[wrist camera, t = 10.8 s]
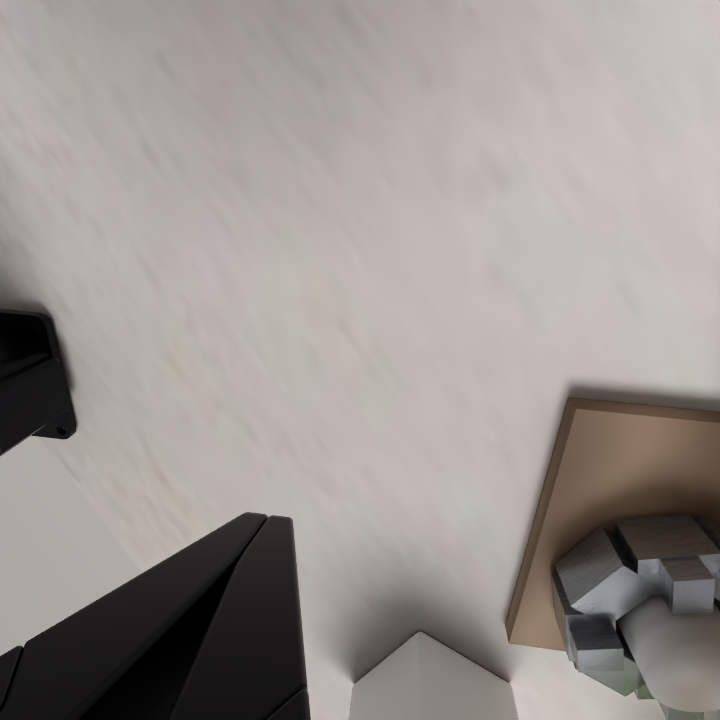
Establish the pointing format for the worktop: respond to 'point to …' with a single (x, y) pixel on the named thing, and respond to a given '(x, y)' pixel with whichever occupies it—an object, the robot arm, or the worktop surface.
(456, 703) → the medicine bottle
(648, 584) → the desk sculpture ornament
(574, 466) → the mount board
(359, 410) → the worktop surface
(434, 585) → the worktop surface
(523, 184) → the worktop surface
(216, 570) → the robot arm
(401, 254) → the worktop surface
